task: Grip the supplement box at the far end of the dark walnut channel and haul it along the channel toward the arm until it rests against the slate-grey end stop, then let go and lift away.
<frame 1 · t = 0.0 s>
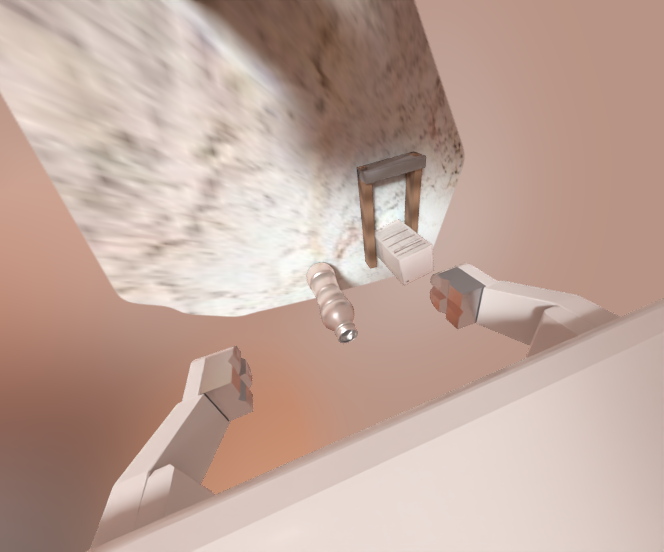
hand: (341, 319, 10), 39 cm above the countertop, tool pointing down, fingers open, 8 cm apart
plastic bottle: (317, 270, 58), on the countertop
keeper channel: (386, 214, 54), on the countertop
supplement box: (386, 236, 58), on the countertop
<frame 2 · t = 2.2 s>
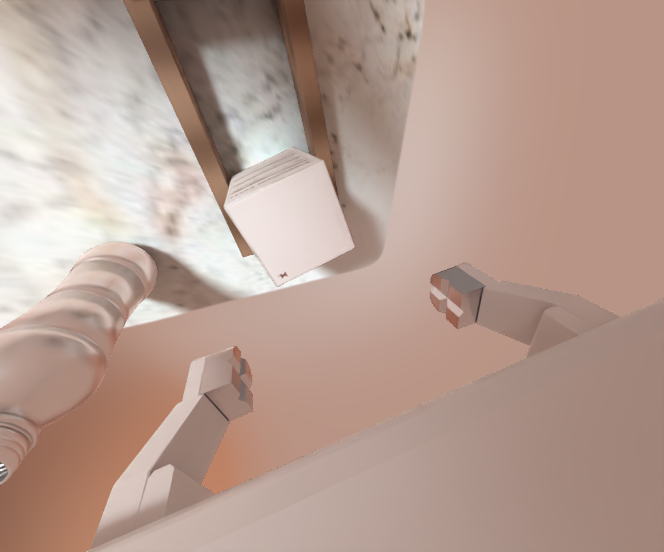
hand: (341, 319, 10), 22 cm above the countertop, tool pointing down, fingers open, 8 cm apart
plastic bottle: (128, 262, 27), on the countertop
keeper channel: (259, 131, 24), on the countertop
supplement box: (277, 191, 28), on the countertop
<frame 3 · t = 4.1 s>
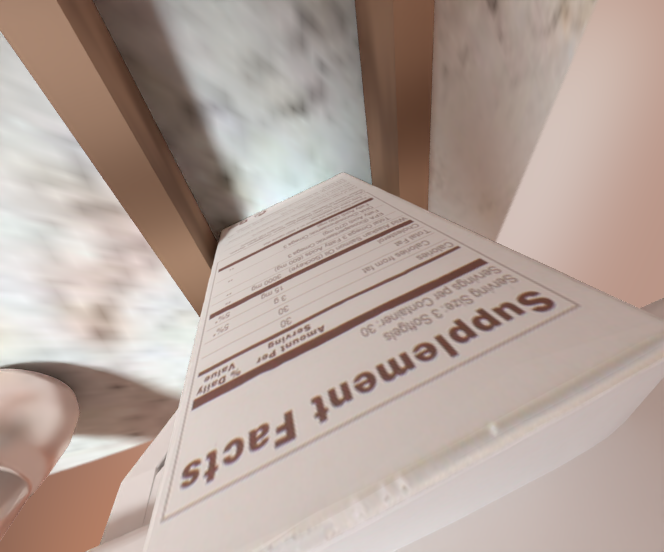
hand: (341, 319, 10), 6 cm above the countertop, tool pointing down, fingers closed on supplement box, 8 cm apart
plastic bottle: (24, 390, 14), on the countertop
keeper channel: (277, 142, 11), on the countertop
supplement box: (307, 251, 15), on the countertop, touching gripper
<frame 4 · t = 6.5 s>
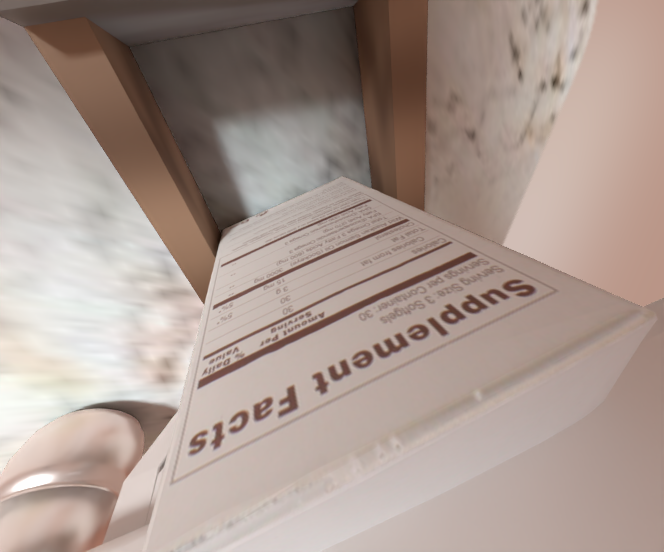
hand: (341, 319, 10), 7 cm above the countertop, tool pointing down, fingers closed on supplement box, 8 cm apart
plastic bottle: (101, 422, 18), on the countertop
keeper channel: (307, 239, 15), on the countertop
supplement box: (306, 252, 15), on the countertop, touching gripper
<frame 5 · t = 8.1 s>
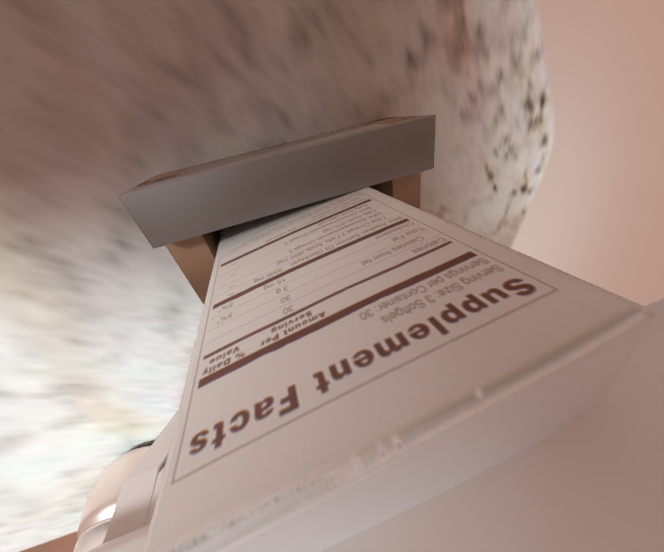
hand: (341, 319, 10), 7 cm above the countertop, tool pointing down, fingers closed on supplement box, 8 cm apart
plastic bottle: (152, 453, 21), on the countertop
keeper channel: (325, 311, 19), on the countertop
supplement box: (306, 252, 15), on the countertop, touching gripper
when the fingers open (7 cm above the countertop, at t = 9.3 s): supplement box stays where it is, on the countertop.
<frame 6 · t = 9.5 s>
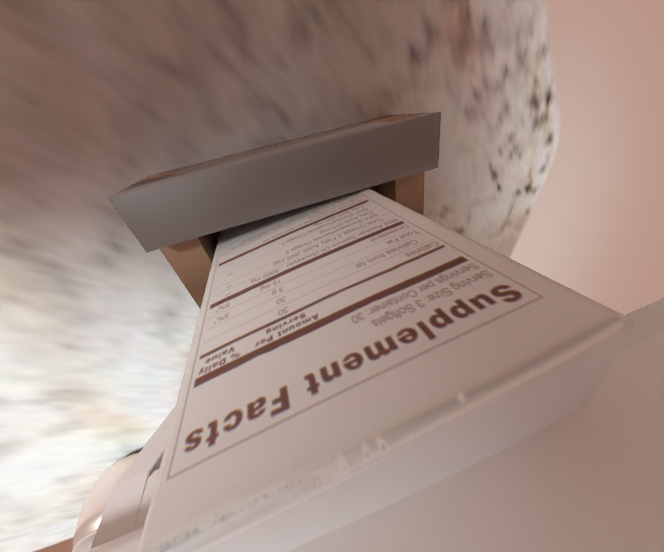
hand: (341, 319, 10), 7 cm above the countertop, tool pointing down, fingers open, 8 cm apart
plastic bottle: (149, 459, 21), on the countertop
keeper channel: (326, 314, 18), on the countertop
supplement box: (304, 250, 15), on the countertop
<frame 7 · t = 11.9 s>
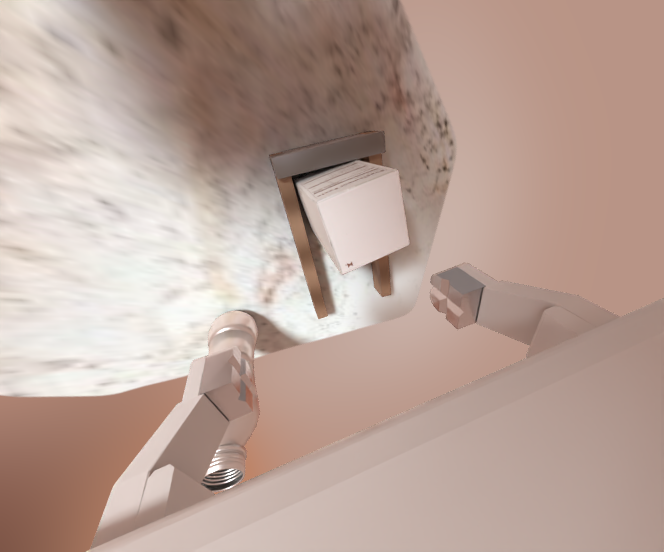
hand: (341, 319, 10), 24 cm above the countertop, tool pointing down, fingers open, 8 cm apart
plastic bottle: (234, 322, 37), on the countertop
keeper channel: (337, 234, 34), on the countertop
supplement box: (328, 195, 32), on the countertop
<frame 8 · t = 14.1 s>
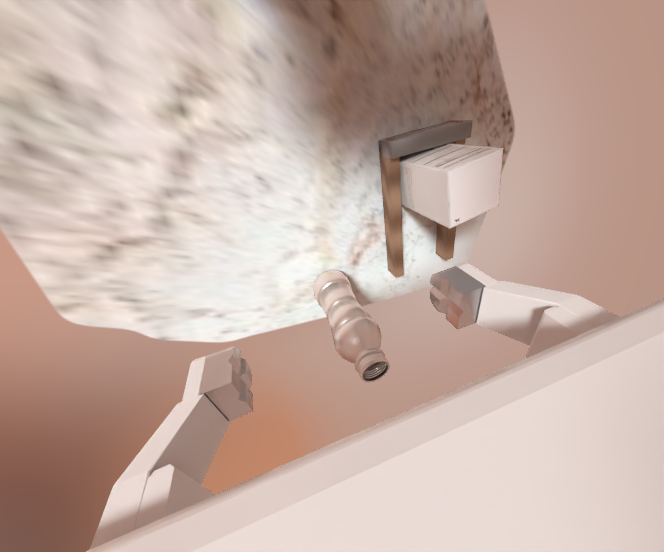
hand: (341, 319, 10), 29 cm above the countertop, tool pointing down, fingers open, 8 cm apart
plastic bottle: (327, 281, 45), on the countertop
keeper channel: (415, 206, 42), on the countertop
supplement box: (414, 173, 39), on the countertop
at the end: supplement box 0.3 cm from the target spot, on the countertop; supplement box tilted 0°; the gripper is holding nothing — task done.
